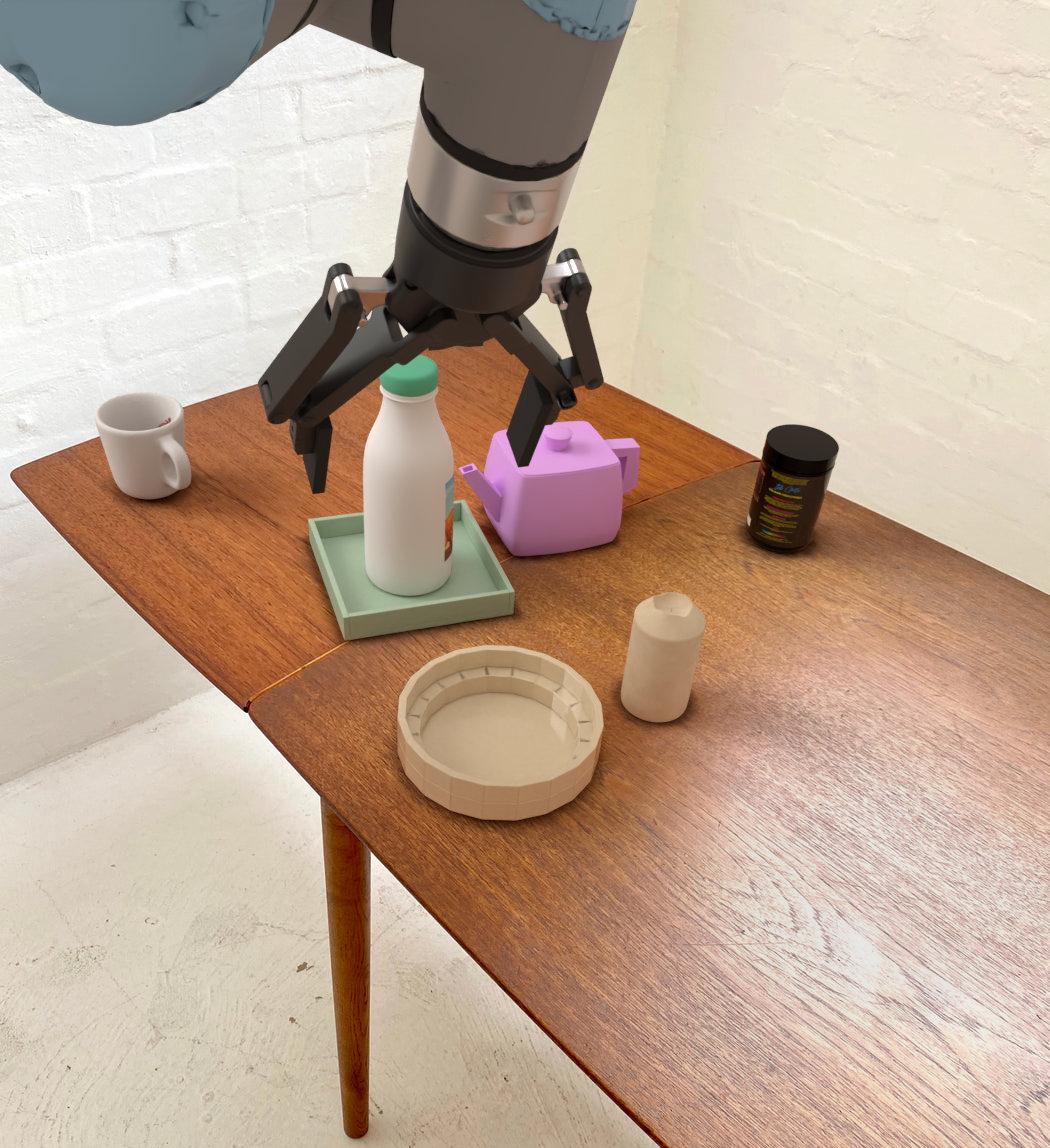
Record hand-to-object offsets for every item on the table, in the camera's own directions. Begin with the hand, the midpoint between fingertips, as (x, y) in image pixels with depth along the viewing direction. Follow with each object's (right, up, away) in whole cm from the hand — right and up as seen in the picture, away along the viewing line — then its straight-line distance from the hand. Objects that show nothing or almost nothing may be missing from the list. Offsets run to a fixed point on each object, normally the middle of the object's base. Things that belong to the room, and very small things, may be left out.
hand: (418, 462), depth 71 cm
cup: (-29, +5, +37) cm, 47 cm away
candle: (+17, -15, +19) cm, 30 cm away
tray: (-4, -4, +29) cm, 30 cm away
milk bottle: (-4, -4, +29) cm, 30 cm away
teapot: (+9, +2, +37) cm, 38 cm away
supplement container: (+32, +1, +39) cm, 50 cm away
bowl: (+5, -19, +14) cm, 24 cm away
